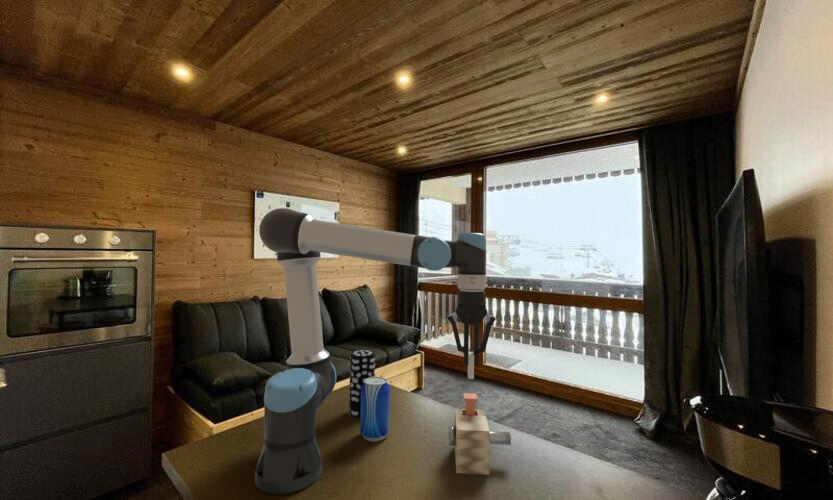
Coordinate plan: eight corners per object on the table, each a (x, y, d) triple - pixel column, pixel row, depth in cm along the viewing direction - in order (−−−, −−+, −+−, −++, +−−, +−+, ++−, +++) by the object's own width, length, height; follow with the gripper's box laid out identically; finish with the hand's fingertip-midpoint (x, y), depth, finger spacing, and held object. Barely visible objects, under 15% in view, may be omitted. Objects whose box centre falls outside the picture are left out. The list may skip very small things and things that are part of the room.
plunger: (463, 427, 95) (463, 398, 95) (462, 421, 99) (463, 393, 99) (477, 428, 95) (477, 398, 95) (475, 422, 98) (476, 393, 99)
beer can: (384, 444, 100) (385, 386, 100) (356, 441, 101) (356, 384, 102) (392, 430, 108) (393, 376, 108) (366, 427, 110) (366, 374, 110)
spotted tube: (347, 409, 122) (348, 350, 122) (371, 406, 124) (372, 348, 125) (350, 420, 114) (351, 357, 114) (376, 417, 116) (377, 355, 117)
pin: (449, 449, 91) (449, 430, 91) (448, 439, 96) (448, 422, 96) (511, 452, 90) (511, 433, 90) (508, 442, 95) (508, 425, 95)
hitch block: (456, 473, 87) (456, 429, 87) (454, 446, 99) (454, 408, 99) (489, 474, 87) (489, 431, 87) (483, 448, 99) (484, 409, 99)
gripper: (447, 291, 94) (446, 381, 94) (498, 291, 93) (497, 383, 93) (447, 288, 101) (446, 371, 101) (493, 289, 100) (493, 373, 100)
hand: (470, 377), depth 97 cm, fingers closed
